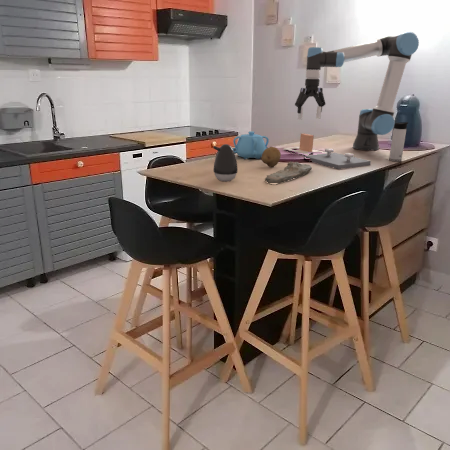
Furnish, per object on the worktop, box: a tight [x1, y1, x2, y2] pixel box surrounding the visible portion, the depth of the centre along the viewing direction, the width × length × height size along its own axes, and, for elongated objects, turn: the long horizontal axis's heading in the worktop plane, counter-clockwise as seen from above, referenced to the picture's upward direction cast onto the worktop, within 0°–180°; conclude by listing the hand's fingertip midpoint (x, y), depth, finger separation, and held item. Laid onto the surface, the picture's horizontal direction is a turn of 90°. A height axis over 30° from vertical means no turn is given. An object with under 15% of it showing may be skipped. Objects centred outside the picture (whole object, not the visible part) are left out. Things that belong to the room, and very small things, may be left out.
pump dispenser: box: [212, 143, 238, 182], centre depth 183 cm, size 10×10×15 cm
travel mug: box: [388, 121, 409, 162], centre depth 228 cm, size 6×7×20 cm
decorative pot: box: [232, 131, 270, 160], centre depth 230 cm, size 16×16×14 cm
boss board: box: [303, 148, 372, 170], centre depth 223 cm, size 22×25×5 cm
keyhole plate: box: [282, 133, 327, 155], centre depth 246 cm, size 14×23×10 cm, turn 31°
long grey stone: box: [264, 161, 313, 184], centre depth 193 cm, size 35×5×10 cm
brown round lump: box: [261, 146, 282, 168], centre depth 208 cm, size 9×9×10 cm
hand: (309, 119), depth 240 cm, fingers open, 13 cm apart
